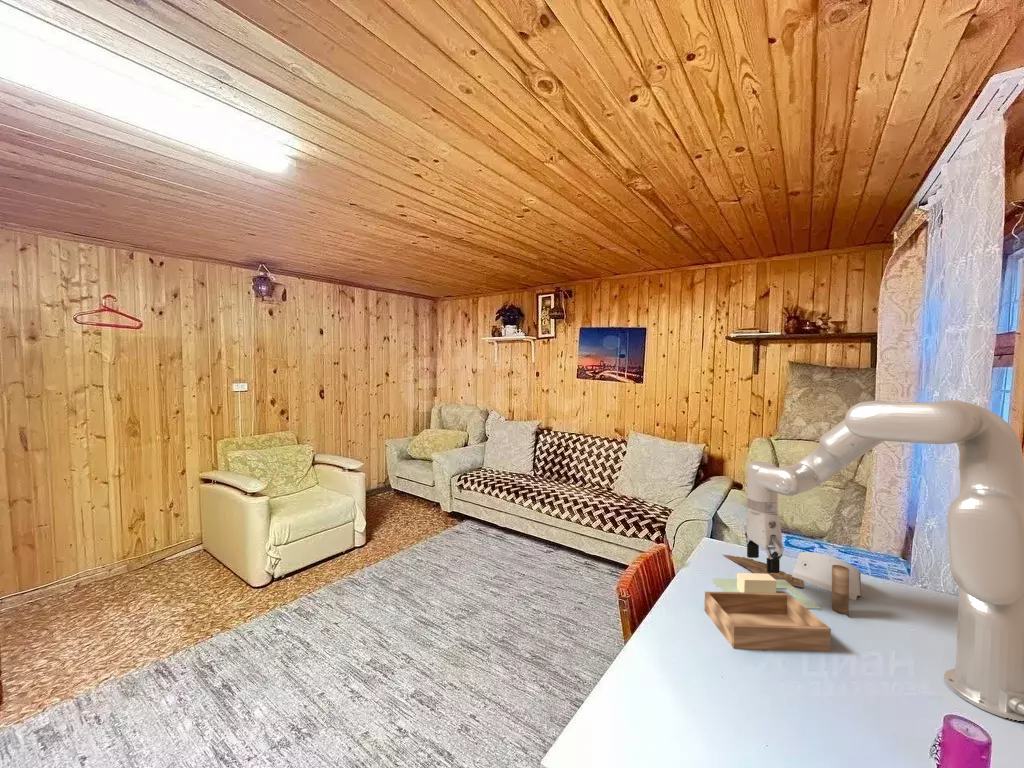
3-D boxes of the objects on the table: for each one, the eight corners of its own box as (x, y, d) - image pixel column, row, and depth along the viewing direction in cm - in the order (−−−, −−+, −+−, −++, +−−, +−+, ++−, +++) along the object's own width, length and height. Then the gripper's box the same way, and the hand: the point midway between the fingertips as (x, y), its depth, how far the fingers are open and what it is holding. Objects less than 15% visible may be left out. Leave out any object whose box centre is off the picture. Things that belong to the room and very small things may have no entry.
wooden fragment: (814, 585, 125) (814, 582, 125) (793, 594, 120) (793, 590, 120) (735, 552, 148) (735, 549, 148) (715, 558, 143) (715, 555, 143)
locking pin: (852, 617, 108) (852, 570, 108) (839, 617, 108) (839, 571, 108) (841, 609, 112) (841, 564, 111) (828, 609, 112) (828, 564, 111)
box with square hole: (830, 654, 94) (830, 628, 93) (733, 651, 94) (734, 626, 94) (787, 615, 109) (788, 593, 108) (704, 613, 109) (704, 591, 109)
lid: (820, 612, 110) (821, 591, 110) (738, 610, 111) (739, 589, 111) (784, 583, 125) (785, 565, 125) (712, 582, 126) (712, 563, 126)
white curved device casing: (790, 577, 129) (795, 545, 131) (795, 577, 132) (800, 546, 134) (857, 601, 116) (861, 565, 118) (861, 601, 119) (866, 566, 120)
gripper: (795, 515, 109) (796, 579, 109) (758, 497, 126) (758, 552, 126) (767, 515, 109) (767, 579, 109) (733, 497, 126) (733, 552, 126)
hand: (762, 564), depth 117 cm, fingers open, 9 cm apart
